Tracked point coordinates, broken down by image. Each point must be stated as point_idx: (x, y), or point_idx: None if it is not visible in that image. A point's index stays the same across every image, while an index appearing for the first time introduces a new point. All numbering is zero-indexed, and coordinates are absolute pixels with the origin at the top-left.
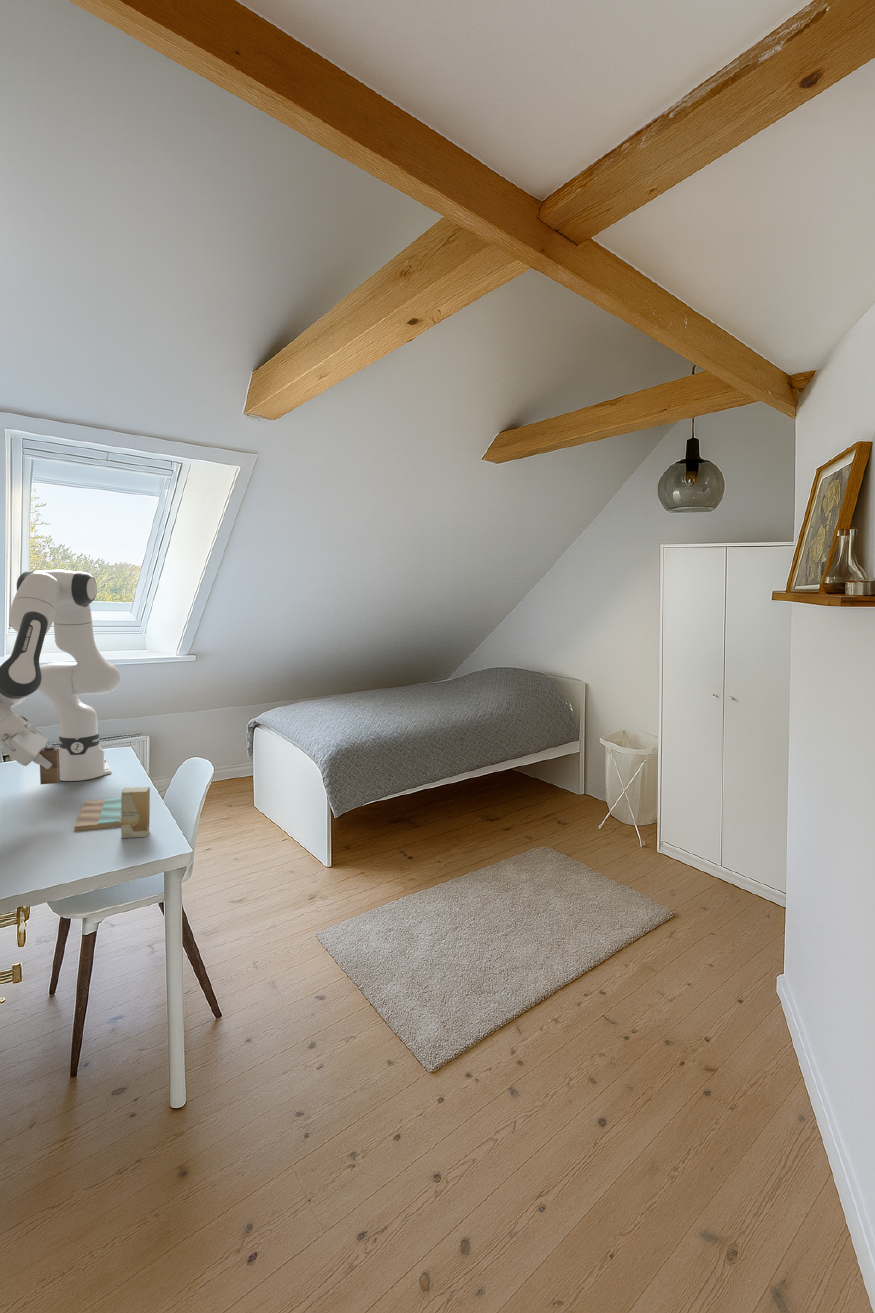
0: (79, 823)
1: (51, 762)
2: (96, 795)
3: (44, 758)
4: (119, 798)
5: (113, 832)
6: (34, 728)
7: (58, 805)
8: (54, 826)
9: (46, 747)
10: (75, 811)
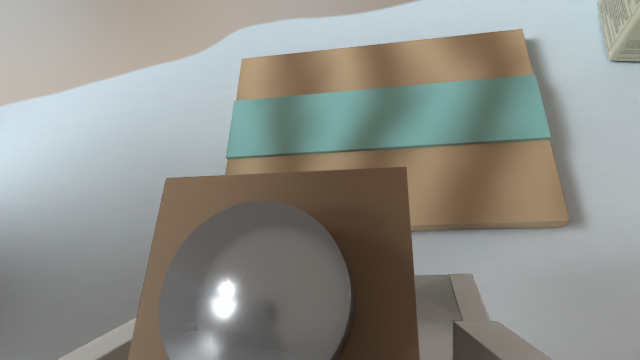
0: (526, 206)
1: (424, 283)
2: (117, 211)
3: (526, 355)
4: (250, 112)
5: (595, 95)
6: None
7: None
8: None
9: (342, 334)
10: None
